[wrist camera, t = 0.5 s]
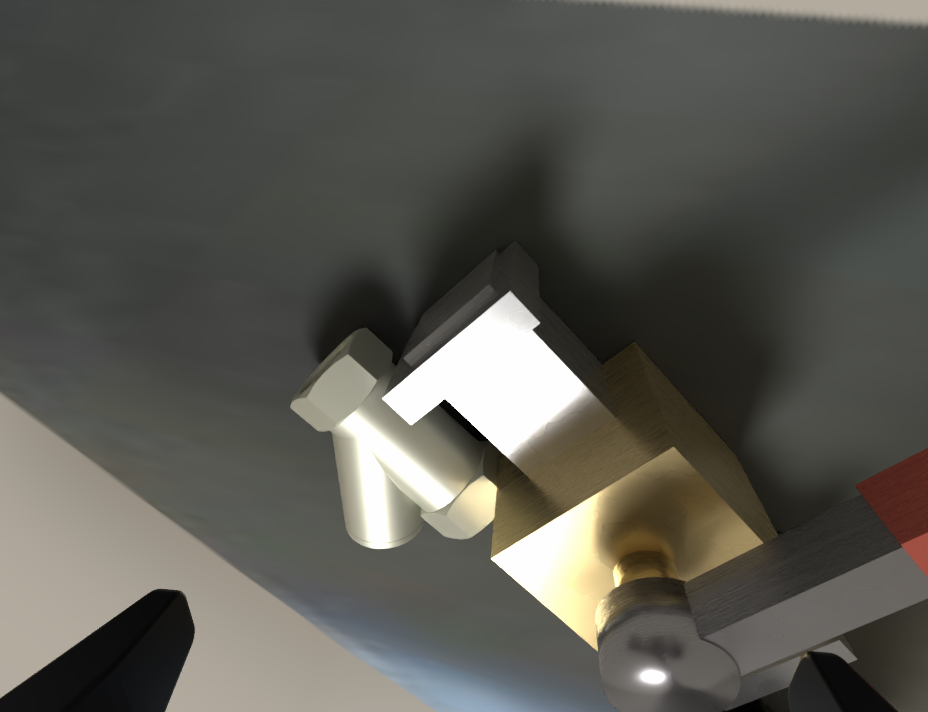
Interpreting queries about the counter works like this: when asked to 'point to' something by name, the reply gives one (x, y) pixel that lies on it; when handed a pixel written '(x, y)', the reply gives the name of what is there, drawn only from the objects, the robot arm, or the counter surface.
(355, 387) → the pipe fitting
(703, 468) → the valve
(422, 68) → the counter surface
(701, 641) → the lever
